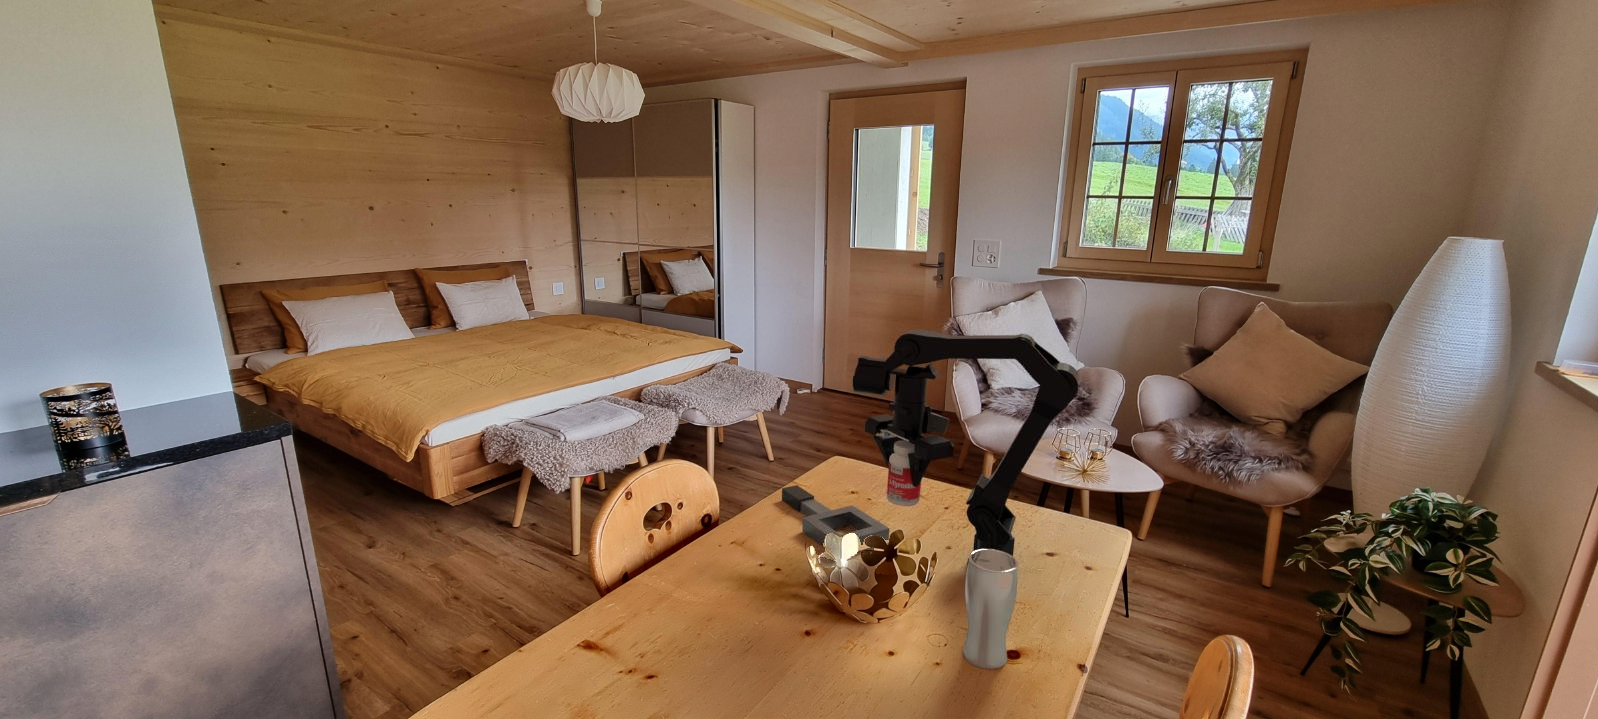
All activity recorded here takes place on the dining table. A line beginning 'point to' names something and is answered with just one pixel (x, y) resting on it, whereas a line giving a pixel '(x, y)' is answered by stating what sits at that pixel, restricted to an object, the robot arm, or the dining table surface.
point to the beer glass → (989, 606)
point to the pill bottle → (901, 477)
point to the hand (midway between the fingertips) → (904, 480)
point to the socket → (830, 517)
